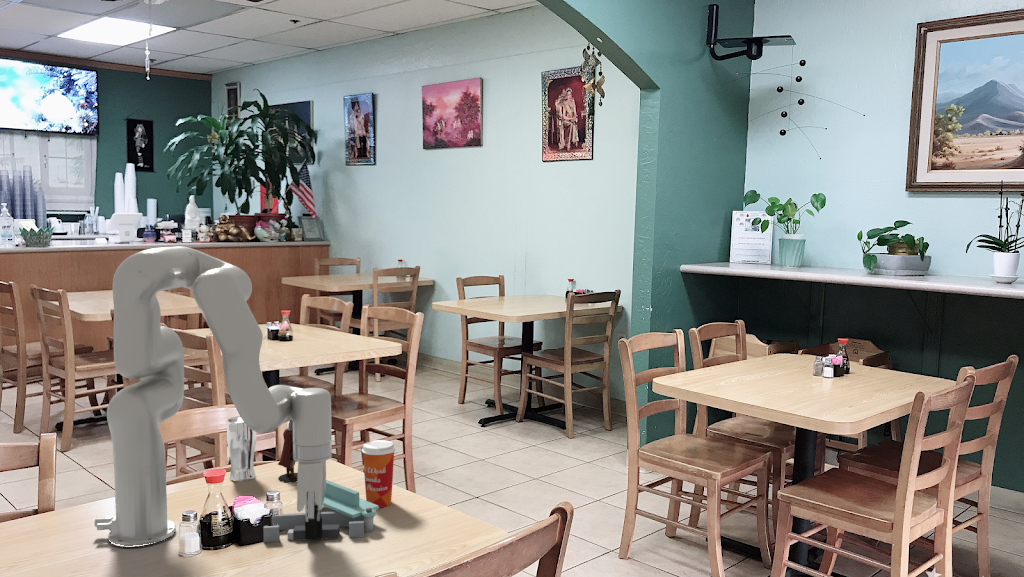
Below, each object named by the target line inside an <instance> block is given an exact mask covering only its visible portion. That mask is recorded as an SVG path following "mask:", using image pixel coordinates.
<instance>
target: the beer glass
mask: <svg viewBox="0 0 1024 577" xmlns="http://www.w3.org/2000/svg"><path fill="white" fill-rule="evenodd" d="M226 422H227V424H226V443H227V450H228V453H229V454H228V455H229V459H230V473H229V480H230V479H231V481H232V480H235V481H234V482H236V481H242V482H247V480H248V481H251V480H254V479H255V477H256V471H255V468H254V458H255V453H256V452H255V451H256V443H257V432H255V431H253V430H252V429H250V428H249V427H248V426H247V425H246V424H245V423H244V421H243V420H242V418H241V417H240V415H239V416H234V417H229V418H227V420H226Z"/></svg>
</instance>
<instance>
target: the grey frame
mask: <svg viewBox="0 0 1024 577" xmlns="http://www.w3.org/2000/svg"><path fill="white" fill-rule="evenodd" d="M279 514H280V515H277V516H276V515H275V516H272V524H273V523H274V526H268V525H263V527H262V528H263V543H272V542H273V543H274V542H280V536H281V535H280V532H281V530H282V531H283V530H289V529H294V528H295V526H301V525H305V520H306V512H302V513H301V512H300V513H299V512H298V513H279ZM320 518H322V525H332V524H339V528H341V527H343V528H344V527H348V538H349V539H350V538H364V537H365V532H372V531H374V517H363V516H362V515H360V516H358V517H355V518H351V517H349V516H346V515H344V514H341V513H339V512H337V511H321V517H320ZM277 524H278V525H277Z"/></svg>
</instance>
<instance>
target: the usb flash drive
mask: <svg viewBox="0 0 1024 577" xmlns="http://www.w3.org/2000/svg"><path fill="white" fill-rule="evenodd" d="M340 533H341V531H340V527H339V524H332V525H322V538H321V539H320V540H333V539H334V540H337V539H339V537H340ZM287 540H293V541H307V540H306V539H305V525H301V526H295V528H294V529H288V532H287Z"/></svg>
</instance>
